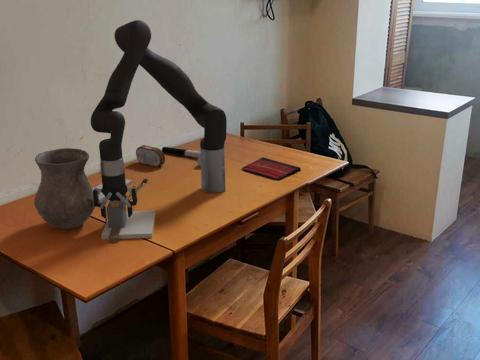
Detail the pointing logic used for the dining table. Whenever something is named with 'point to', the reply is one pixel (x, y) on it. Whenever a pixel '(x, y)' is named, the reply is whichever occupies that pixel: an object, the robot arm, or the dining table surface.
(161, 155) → the tin
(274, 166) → the binder
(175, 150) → the claw hammer
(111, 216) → the block
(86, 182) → the vase
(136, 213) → the board
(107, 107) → the robot arm
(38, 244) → the dining table surface
